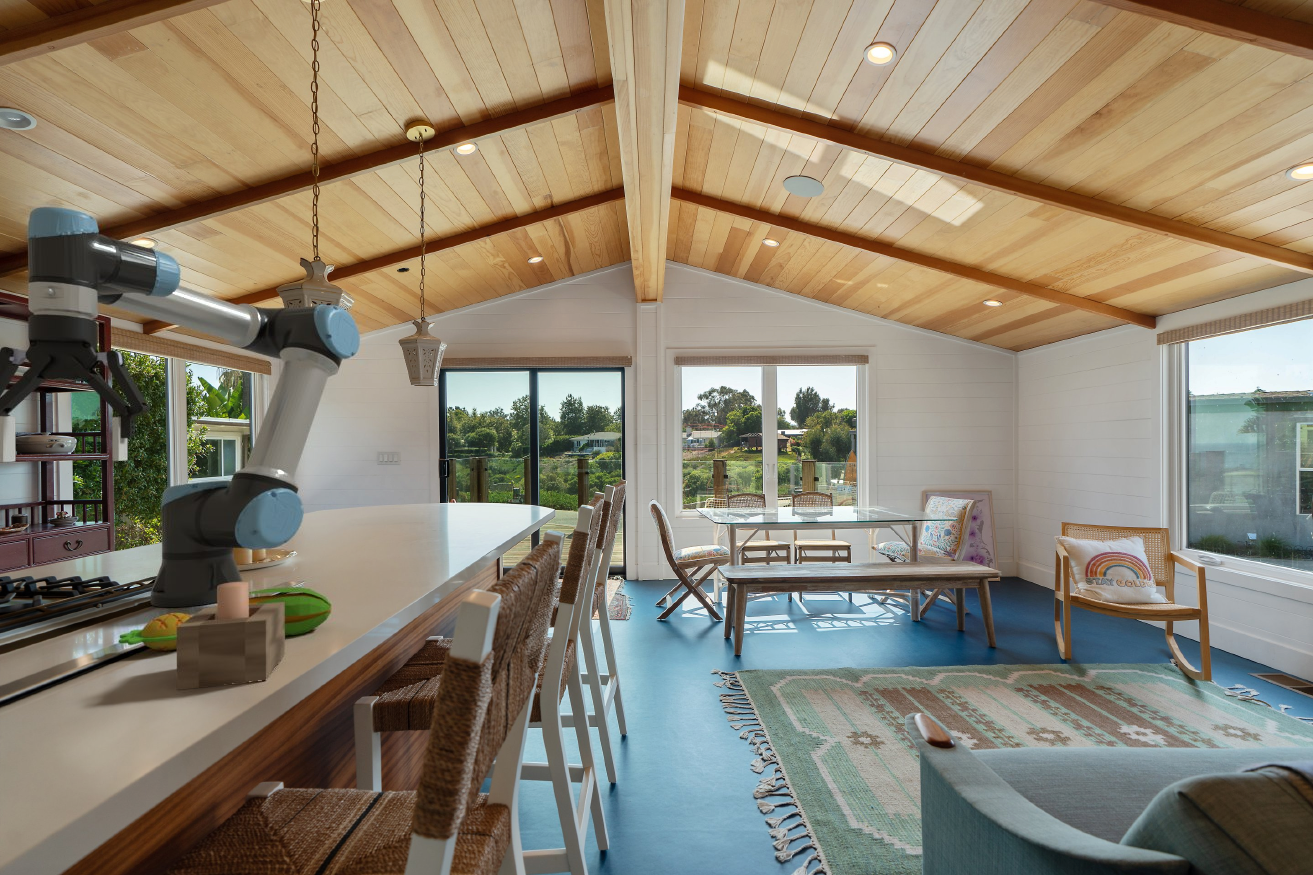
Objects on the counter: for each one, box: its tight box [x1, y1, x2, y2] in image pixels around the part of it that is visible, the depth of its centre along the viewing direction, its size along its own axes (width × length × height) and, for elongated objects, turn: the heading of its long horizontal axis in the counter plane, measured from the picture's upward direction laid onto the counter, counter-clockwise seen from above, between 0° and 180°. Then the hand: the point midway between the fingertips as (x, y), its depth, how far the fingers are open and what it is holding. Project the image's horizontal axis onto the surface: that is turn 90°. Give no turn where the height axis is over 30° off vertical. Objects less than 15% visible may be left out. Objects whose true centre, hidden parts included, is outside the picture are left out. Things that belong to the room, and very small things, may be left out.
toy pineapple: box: [118, 612, 193, 652], centre depth 97 cm, size 7×10×5 cm
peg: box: [216, 581, 250, 620], centre depth 88 cm, size 4×4×12 cm
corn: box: [212, 586, 332, 637], centre depth 105 cm, size 7×8×20 cm
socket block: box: [176, 602, 286, 691], centre depth 88 cm, size 10×10×8 cm
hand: (64, 461), depth 95 cm, fingers open, 13 cm apart
